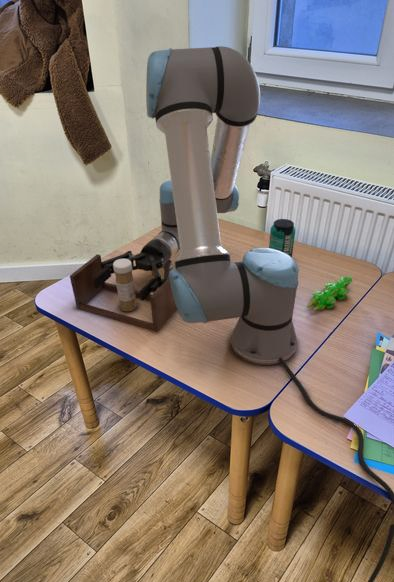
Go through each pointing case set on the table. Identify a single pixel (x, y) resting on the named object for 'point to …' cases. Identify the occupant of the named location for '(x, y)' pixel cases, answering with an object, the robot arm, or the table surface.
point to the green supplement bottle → (282, 236)
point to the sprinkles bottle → (125, 284)
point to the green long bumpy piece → (331, 293)
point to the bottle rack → (86, 291)
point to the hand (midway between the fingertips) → (117, 289)
